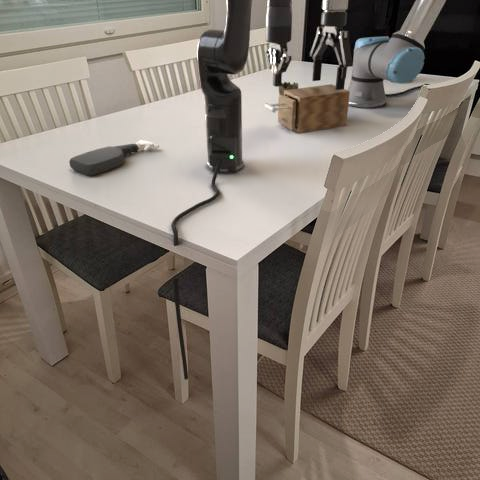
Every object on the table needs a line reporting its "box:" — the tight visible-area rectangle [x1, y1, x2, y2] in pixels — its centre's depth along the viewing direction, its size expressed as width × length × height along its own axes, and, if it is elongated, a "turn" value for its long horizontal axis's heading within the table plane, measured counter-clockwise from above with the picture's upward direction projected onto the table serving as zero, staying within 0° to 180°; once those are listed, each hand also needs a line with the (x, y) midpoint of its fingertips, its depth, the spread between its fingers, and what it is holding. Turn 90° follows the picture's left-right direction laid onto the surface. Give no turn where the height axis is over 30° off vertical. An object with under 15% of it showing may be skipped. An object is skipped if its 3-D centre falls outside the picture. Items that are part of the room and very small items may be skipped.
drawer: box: [264, 94, 299, 131], centre depth 144 cm, size 23×9×9 cm, turn 113°
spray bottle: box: [68, 139, 160, 177], centre depth 124 cm, size 3×11×24 cm
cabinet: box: [284, 83, 350, 134], centre depth 146 cm, size 18×11×11 cm, turn 113°
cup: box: [278, 81, 300, 96], centre depth 166 cm, size 8×7×8 cm
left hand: (277, 85), depth 137 cm, fingers closed
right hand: (327, 84), depth 144 cm, fingers open, 13 cm apart
